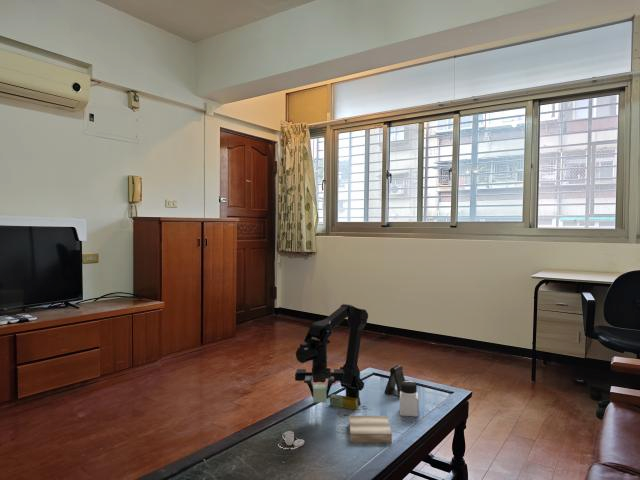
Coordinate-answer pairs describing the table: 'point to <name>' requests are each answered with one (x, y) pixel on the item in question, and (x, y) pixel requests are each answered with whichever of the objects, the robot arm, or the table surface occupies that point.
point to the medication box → (344, 401)
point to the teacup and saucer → (291, 440)
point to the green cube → (319, 393)
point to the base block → (369, 429)
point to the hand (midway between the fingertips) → (320, 397)
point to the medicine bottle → (408, 399)
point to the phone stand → (395, 381)
